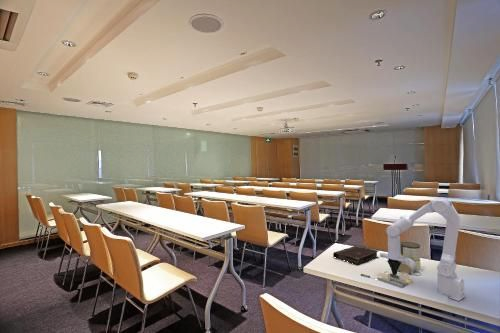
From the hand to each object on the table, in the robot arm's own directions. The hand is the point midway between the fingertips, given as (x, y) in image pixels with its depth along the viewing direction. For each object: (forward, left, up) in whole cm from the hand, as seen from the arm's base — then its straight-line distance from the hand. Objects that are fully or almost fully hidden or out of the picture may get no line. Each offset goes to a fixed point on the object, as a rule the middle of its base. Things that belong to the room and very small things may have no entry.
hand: (394, 274), depth 135 cm
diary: (+32, -16, -4) cm, 37 cm away
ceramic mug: (0, -16, -4) cm, 16 cm away
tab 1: (+2, +6, -2) cm, 7 cm away
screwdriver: (+9, +9, -3) cm, 13 cm away
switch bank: (-1, +3, -3) cm, 5 cm away
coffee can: (+4, -25, -4) cm, 26 cm away
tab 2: (-4, 0, -2) cm, 5 cm away
